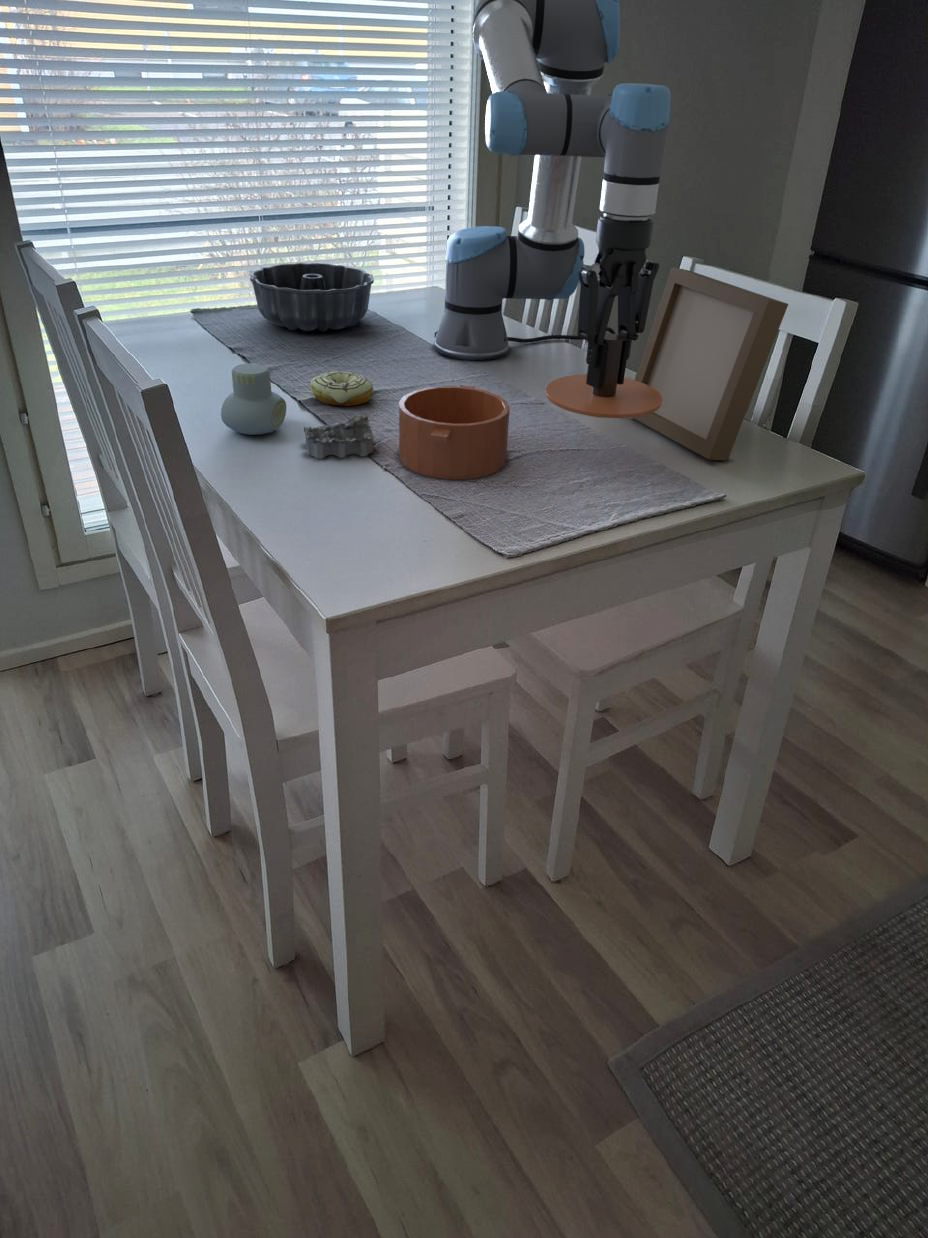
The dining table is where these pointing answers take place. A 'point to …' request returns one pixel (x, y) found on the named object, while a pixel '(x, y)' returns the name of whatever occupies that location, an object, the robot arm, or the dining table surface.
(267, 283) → the bundt pan
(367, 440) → the egg carton
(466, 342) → the robot arm
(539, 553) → the dining table surface
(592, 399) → the lid
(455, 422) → the pot
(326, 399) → the decorated donut
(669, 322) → the photo frame
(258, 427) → the air freshener
